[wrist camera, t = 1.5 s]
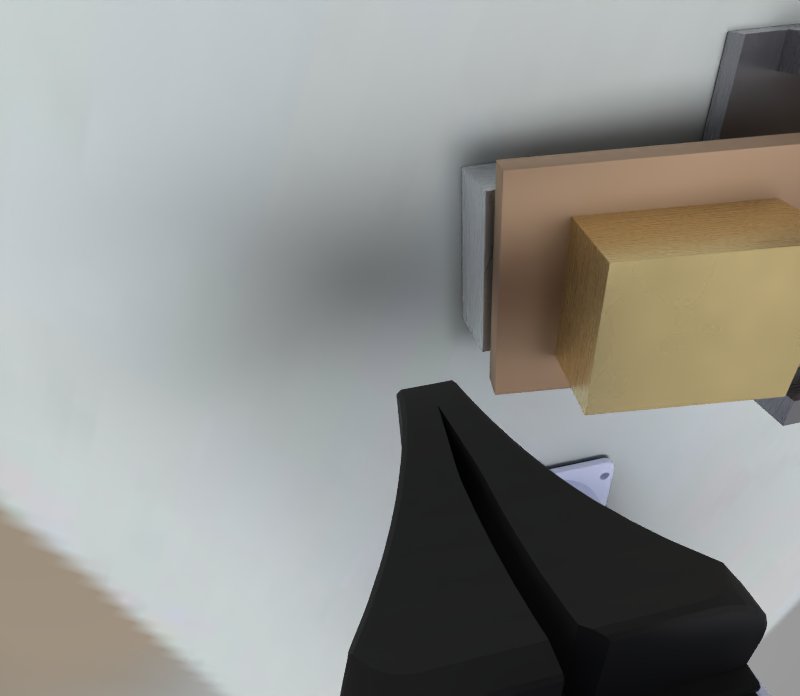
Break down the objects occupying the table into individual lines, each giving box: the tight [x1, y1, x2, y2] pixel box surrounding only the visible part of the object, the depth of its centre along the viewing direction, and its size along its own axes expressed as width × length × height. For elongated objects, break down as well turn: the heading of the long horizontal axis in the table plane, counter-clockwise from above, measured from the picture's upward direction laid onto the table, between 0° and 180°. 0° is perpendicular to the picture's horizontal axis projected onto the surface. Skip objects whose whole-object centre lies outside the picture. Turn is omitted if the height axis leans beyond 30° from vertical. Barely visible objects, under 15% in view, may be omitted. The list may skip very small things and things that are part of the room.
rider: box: [555, 198, 800, 415], centre depth 16 cm, size 5×6×3 cm
